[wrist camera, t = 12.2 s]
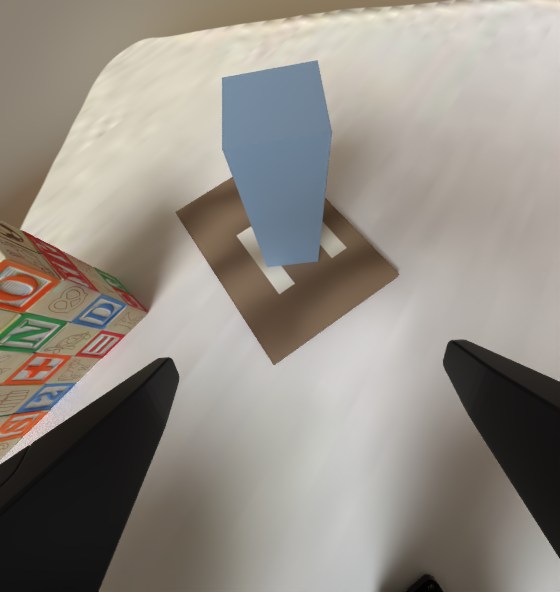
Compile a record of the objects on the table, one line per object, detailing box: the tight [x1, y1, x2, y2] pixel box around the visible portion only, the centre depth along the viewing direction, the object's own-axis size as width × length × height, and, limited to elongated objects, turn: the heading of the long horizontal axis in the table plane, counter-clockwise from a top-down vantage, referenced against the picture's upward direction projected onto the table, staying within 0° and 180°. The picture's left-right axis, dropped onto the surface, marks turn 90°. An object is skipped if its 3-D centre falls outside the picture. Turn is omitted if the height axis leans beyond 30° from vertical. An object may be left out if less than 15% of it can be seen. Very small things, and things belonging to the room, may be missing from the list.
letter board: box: [176, 177, 399, 365], centre depth 24 cm, size 20×14×1 cm
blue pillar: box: [222, 60, 332, 267], centre depth 18 cm, size 5×5×13 cm
